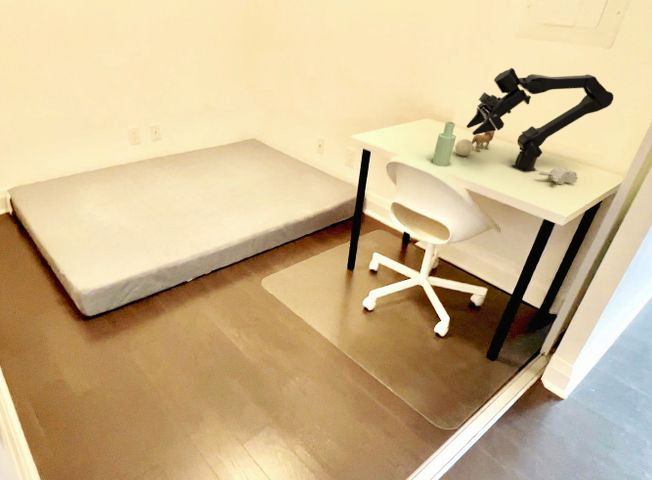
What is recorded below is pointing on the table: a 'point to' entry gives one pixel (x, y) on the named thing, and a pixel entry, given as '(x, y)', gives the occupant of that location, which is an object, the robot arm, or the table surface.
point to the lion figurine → (483, 139)
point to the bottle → (444, 145)
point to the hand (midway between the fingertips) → (469, 130)
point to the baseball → (464, 147)
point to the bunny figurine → (561, 175)
